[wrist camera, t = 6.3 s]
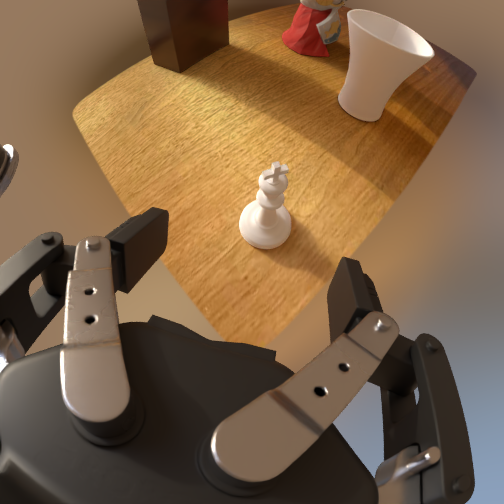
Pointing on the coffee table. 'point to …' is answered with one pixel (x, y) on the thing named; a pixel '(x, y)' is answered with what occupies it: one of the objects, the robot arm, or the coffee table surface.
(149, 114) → the coffee table surface
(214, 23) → the rectangular box
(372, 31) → the cup
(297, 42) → the figurine
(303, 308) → the coffee table surface
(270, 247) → the chess piece
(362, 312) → the robot arm
